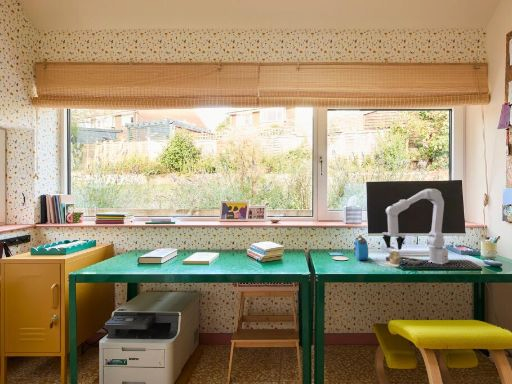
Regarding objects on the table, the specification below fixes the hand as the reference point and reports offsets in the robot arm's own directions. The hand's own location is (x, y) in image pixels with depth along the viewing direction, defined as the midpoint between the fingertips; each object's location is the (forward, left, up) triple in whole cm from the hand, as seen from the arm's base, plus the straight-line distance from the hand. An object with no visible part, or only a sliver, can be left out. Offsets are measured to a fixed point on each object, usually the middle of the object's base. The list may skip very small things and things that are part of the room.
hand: (394, 248), depth 212 cm
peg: (0, 0, -9) cm, 9 cm away
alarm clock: (+22, +4, -10) cm, 24 cm away
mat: (0, 0, -9) cm, 9 cm away
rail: (0, -9, -9) cm, 13 cm away
